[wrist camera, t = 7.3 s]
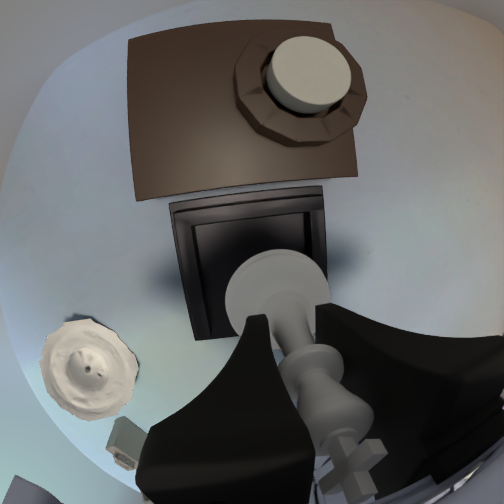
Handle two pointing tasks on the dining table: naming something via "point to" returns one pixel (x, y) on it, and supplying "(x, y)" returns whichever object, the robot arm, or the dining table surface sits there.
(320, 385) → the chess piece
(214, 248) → the pan
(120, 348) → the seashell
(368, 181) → the dining table surface
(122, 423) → the lighter
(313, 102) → the button
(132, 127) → the brown push button box
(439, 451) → the robot arm
